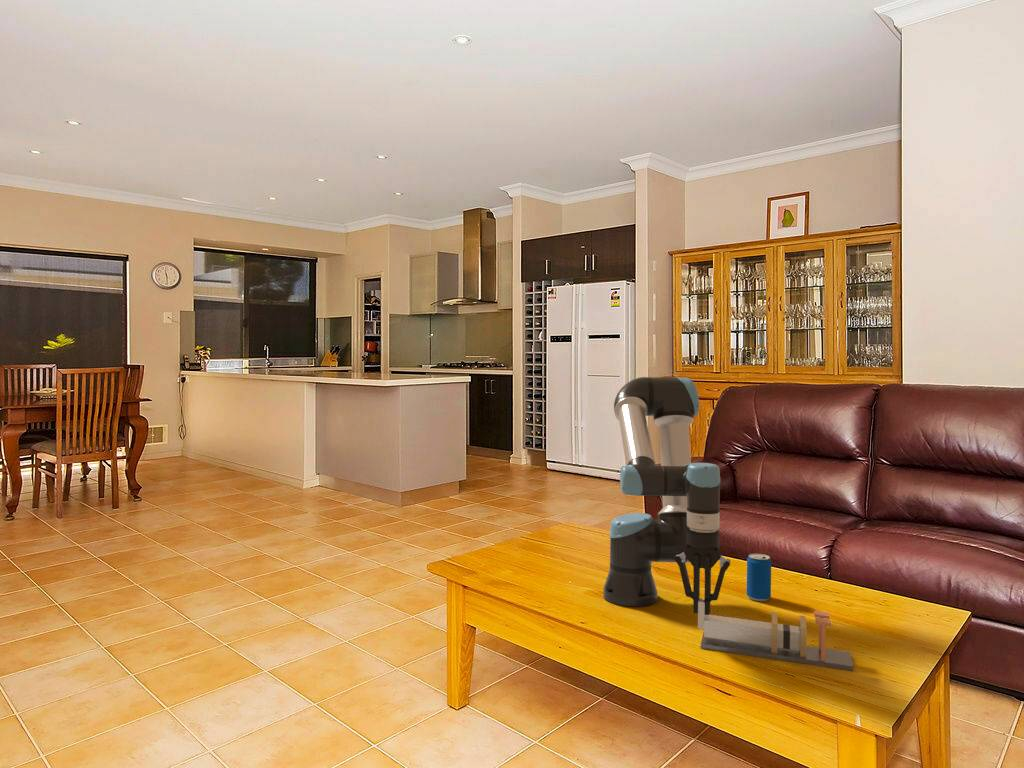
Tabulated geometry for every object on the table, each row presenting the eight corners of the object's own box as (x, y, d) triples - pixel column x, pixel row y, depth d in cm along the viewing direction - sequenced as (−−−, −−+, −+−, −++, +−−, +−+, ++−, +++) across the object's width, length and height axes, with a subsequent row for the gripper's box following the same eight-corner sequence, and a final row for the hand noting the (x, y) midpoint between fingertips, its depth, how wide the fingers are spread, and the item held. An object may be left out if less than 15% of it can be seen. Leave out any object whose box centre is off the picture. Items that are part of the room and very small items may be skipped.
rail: (700, 648, 158) (701, 614, 158) (703, 635, 165) (704, 603, 165) (853, 671, 146) (854, 634, 146) (849, 656, 154) (850, 621, 154)
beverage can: (772, 603, 188) (773, 560, 188) (748, 601, 189) (748, 558, 189) (768, 595, 194) (769, 553, 194) (745, 593, 196) (745, 552, 195)
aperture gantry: (815, 660, 149) (816, 621, 149) (813, 647, 156) (814, 610, 156) (830, 662, 148) (831, 623, 148) (827, 649, 155) (828, 612, 155)
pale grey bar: (704, 637, 159) (704, 619, 159) (705, 630, 163) (705, 613, 163) (805, 651, 152) (806, 633, 151) (804, 644, 155) (805, 627, 155)
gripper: (672, 529, 160) (671, 628, 160) (730, 535, 155) (729, 637, 155) (677, 523, 167) (676, 618, 167) (732, 528, 162) (731, 625, 162)
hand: (701, 627), depth 161 cm, fingers closed
